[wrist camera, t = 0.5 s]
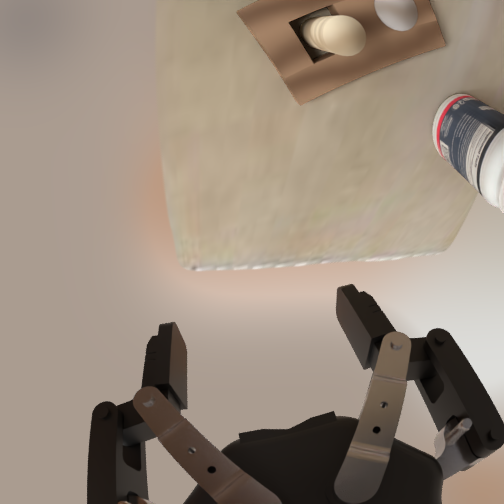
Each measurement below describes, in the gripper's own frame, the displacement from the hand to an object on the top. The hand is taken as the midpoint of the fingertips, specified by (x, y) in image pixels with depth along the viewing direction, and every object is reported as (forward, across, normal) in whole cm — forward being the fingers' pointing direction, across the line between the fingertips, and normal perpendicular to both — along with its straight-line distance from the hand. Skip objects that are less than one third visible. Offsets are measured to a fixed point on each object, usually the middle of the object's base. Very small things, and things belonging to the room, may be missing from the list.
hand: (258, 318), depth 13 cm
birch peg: (+24, -14, -17) cm, 33 cm away
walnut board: (+23, -18, -19) cm, 35 cm away
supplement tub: (+25, -39, -5) cm, 46 cm away
